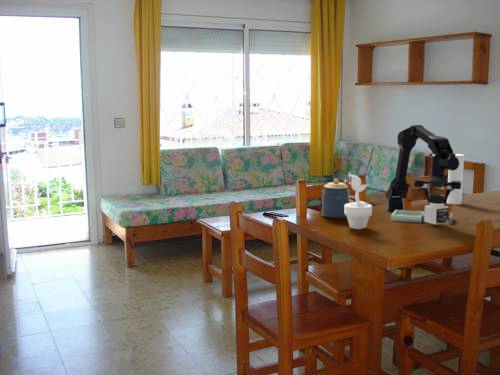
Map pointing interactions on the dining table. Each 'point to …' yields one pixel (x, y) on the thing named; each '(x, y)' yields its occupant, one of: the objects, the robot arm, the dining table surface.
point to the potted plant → (357, 206)
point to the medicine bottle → (436, 210)
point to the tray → (407, 216)
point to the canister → (335, 199)
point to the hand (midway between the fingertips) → (436, 203)
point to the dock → (450, 217)
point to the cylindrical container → (456, 175)
